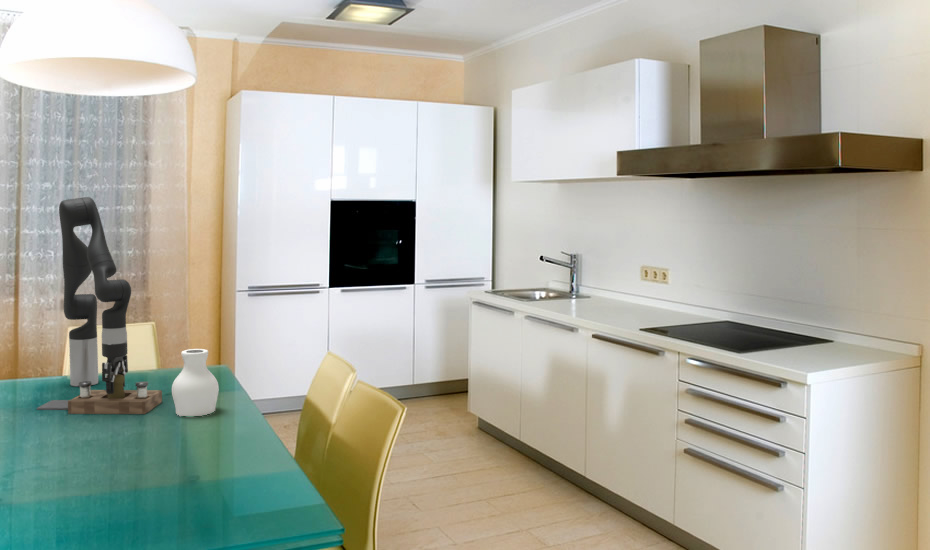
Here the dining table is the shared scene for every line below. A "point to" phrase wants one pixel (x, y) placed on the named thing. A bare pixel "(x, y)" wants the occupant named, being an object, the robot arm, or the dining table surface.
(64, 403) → the pad
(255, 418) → the dining table surface
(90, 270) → the robot arm
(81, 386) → the plunger
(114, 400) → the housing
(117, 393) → the cork
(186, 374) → the vase
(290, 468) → the dining table surface
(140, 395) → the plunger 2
